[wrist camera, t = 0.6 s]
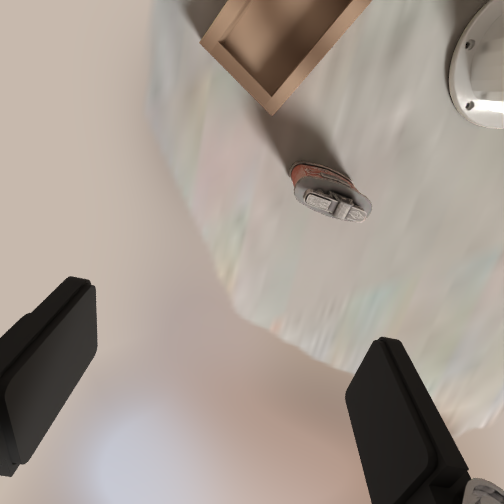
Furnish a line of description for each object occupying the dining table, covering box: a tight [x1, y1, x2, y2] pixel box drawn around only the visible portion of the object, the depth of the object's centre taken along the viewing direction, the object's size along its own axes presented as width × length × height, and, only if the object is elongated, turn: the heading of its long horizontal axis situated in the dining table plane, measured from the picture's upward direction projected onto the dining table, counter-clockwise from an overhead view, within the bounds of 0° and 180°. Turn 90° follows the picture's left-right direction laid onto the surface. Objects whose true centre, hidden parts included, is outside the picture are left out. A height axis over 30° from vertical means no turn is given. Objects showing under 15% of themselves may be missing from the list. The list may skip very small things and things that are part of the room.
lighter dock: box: [199, 0, 372, 116], centre depth 28 cm, size 13×9×4 cm
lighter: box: [289, 161, 372, 223], centre depth 33 cm, size 8×3×10 cm, turn 71°
